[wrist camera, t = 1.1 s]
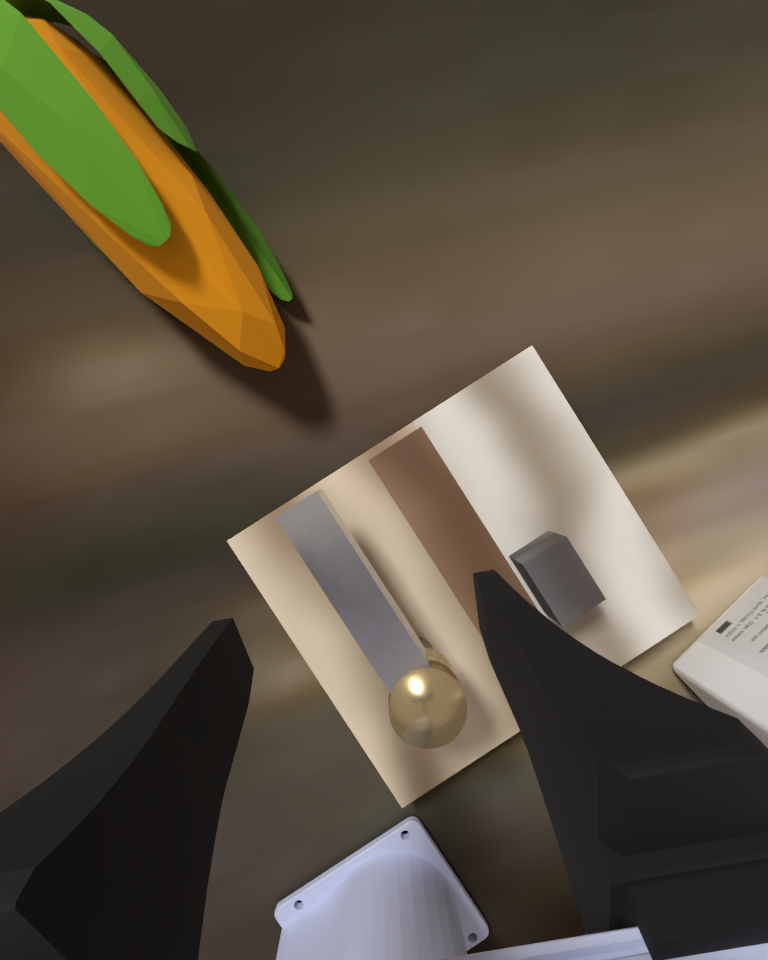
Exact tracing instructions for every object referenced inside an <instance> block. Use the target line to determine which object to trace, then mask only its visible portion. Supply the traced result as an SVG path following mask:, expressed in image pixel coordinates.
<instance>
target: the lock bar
mask: <svg viewBox="0 0 768 960" xmlns="http://www.w3.org/2000/svg"><path fill="white" fill-rule="evenodd" d="M275 518H276V519H277V521H278V522H279V524H280V525H281V527H282V528H283V530H284V532H285V533H286V535H287V536H288V538H289V539H290V541H291V542H292V544H293V545H294V547H295V548H296V550H297V551H298V553H299V555H300V556H301V558H302V559H303V561H304V562H305V564H306V565H307V567H308V568H309V570H310V571H311V573H312V574H313V576H314V578H315V579H316V581H317V582H318V584H319V585H320V587H321V588H322V590H323V591H324V593H325V594H326V596H327V598H328V599H329V601H330V602H331V604H332V605H333V607H334V608H335V610H336V611H337V613H338V614H339V616H340V617H341V619H342V621H343V622H344V624H345V625H346V627H347V628H348V630H349V631H350V633H351V634H352V636H353V637H354V639H355V641H356V642H357V644H358V645H359V647H360V648H361V650H362V651H363V653H364V654H365V656H366V657H367V659H368V660H369V662H370V664H371V665H372V667H373V668H374V670H375V671H376V673H377V674H378V676H379V677H380V679H381V680H382V682H383V683H384V685H385V687H386V688H387V690H388V703H389V716H390V721H391V724H392V727H393V729H394V731H395V732H396V734H397V735H398V736H399V737H400V738H401V739H402V740H403V741H404V742H406V743H407V744H409V745H411V746H413V747H416V748H420V749H435V748H439V747H442V746H444V745H446V744H448V743H450V742H451V741H452V740H454V739H455V738H456V737H457V736H458V734H459V733H460V732H461V730H462V728H463V726H464V724H465V721H466V717H467V702H466V698H465V696H464V693H463V691H462V688H461V686H460V683H459V681H458V679H457V676H456V674H455V671H454V669H453V667H452V665H451V663H450V662H449V660H448V659H447V658H446V657H445V656H444V655H442V654H441V653H439V652H438V651H435V650H433V649H429V648H425V647H424V646H423V644H422V643H421V641H420V639H419V638H418V636H417V635H416V633H415V632H414V630H413V629H412V627H411V626H410V624H409V622H408V621H407V619H406V618H405V616H404V615H403V613H402V612H401V610H400V609H399V607H398V605H397V604H396V602H395V601H394V599H393V598H392V596H391V595H390V593H389V592H388V590H387V588H386V587H385V585H384V584H383V582H382V581H381V579H380V578H379V576H378V574H377V573H376V571H375V570H374V568H373V567H372V565H371V564H370V562H369V561H368V559H367V557H366V556H365V554H364V553H363V551H362V550H361V548H360V547H359V545H358V544H357V542H356V540H355V539H354V537H353V536H352V534H351V533H350V531H349V530H348V528H347V527H346V525H345V523H344V522H343V520H342V519H341V517H340V516H339V514H338V513H337V511H336V510H335V508H334V506H333V505H332V503H331V502H330V500H329V499H328V497H327V496H326V494H325V493H324V491H323V489H321V490H318V491H316V492H314V493H313V494H311V495H309V496H308V497H306V498H305V499H303V500H302V501H300V502H298V503H297V504H295V505H294V506H292V507H291V508H289V509H288V510H286V511H284V512H283V513H281V514H280V515H278V516H277V517H275Z"/></svg>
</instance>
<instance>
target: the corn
mask: <svg viewBox="0 0 768 960" xmlns="http://www.w3.org/2000/svg"><path fill="white" fill-rule="evenodd" d="M49 22H58V23H61V24H65V25H69V26H73V27H74V28H75V29H76V30H77V31H78V32H79V33H81V34H82V35H83V36H84V37H85V38H86V39H87V40H88V41H89V42H90V43H91V44H92V45H93V46H94V47H95V48H96V49H97V50H98V51H99V52H100V54H101V55H102V56H103V58H104V59H105V60H106V61H105V60H103V59H101V58H100V57H98V56H96V55H94V54H93V53H92V52H90V51H89V50H88V49H87V48H86V47H84V46H83V45H82V44H81V43H79V42H78V41H77V40H76V39H74V38H73V37H71V36H70V35H68V34H67V33H65V32H63V31H62V30H60V29H59V28H57V27H56V26H54V25H53V24H51V23H49ZM0 142H1V143H2V144H3V145H4V146H5V147H6V148H7V149H8V151H9V152H10V153H11V154H12V155H13V156H14V157H15V158H16V160H17V161H18V162H19V163H20V164H21V165H22V166H23V167H24V168H25V170H26V171H27V172H28V173H29V174H30V175H31V176H32V177H33V178H34V179H35V180H36V181H37V183H38V184H39V185H40V186H41V187H42V188H43V189H44V190H45V191H46V192H47V193H48V194H49V195H50V196H51V197H52V199H53V200H54V201H55V202H56V203H57V204H58V205H59V206H60V207H61V208H62V209H63V210H64V211H65V212H66V213H67V214H68V216H69V217H70V218H71V219H72V220H73V221H74V222H75V223H76V224H77V226H78V227H79V228H80V229H81V230H82V231H83V233H84V234H85V235H86V236H87V237H88V238H89V240H90V241H91V242H92V243H93V244H94V245H95V246H96V247H97V248H98V249H99V250H100V251H101V252H102V253H103V254H104V255H105V256H106V257H107V258H108V259H109V260H110V261H111V262H112V263H113V264H114V265H115V266H116V267H117V268H118V269H119V270H120V271H121V272H122V273H123V274H124V275H125V276H126V277H127V278H128V279H129V280H130V281H131V283H132V284H133V285H134V286H135V287H136V288H137V289H138V290H139V291H140V292H141V293H142V294H144V295H145V296H147V297H148V298H149V299H151V300H152V301H154V302H155V303H156V304H158V305H159V306H161V307H162V308H163V309H165V310H166V311H168V312H169V313H171V314H172V315H173V316H175V317H176V318H178V319H179V320H180V321H182V322H183V323H185V324H186V325H187V326H189V327H190V328H192V329H193V330H195V331H196V332H197V333H199V334H200V335H202V336H203V337H204V338H206V339H207V340H209V341H210V342H211V343H213V344H214V345H216V346H217V347H219V348H220V349H221V350H223V351H224V352H226V353H227V354H228V355H230V356H231V357H233V358H234V359H235V360H237V361H238V362H240V363H241V364H243V365H244V366H248V367H252V368H256V369H261V370H265V371H269V372H270V371H273V370H276V369H279V367H280V366H281V364H282V363H283V361H284V360H285V327H284V325H283V322H282V320H281V318H280V315H279V313H278V311H277V308H276V306H275V304H274V301H273V299H272V297H271V295H270V292H269V290H270V291H271V292H273V293H274V294H275V295H276V296H277V297H278V298H280V299H281V300H284V301H290V300H291V299H292V298H293V296H292V291H291V289H290V287H289V284H288V282H287V280H286V278H285V276H284V274H283V272H282V270H281V268H280V266H279V264H278V262H277V260H276V259H275V257H274V255H273V253H272V252H271V250H270V248H269V246H268V245H267V243H266V241H265V239H264V238H263V236H262V234H261V232H260V231H259V229H258V227H257V226H256V225H255V223H254V222H253V221H252V219H251V218H250V217H249V215H248V214H247V213H246V212H245V210H244V209H243V208H242V206H241V205H240V204H239V202H238V201H237V200H236V198H235V197H234V196H233V194H232V193H231V192H230V190H229V189H228V188H227V186H226V185H225V184H224V182H223V181H222V180H221V178H220V177H219V176H218V175H217V173H216V172H215V171H214V169H213V168H212V167H211V166H210V165H209V164H208V163H207V161H206V160H205V159H204V158H203V157H202V156H201V155H200V153H199V152H198V151H197V150H196V148H195V145H194V143H193V141H192V139H191V137H190V134H189V132H188V130H187V128H186V126H185V125H184V123H183V122H182V120H181V119H180V117H179V116H178V115H177V113H176V112H175V110H174V109H173V107H172V106H171V105H170V103H169V102H168V100H167V99H166V97H165V96H164V95H163V93H162V92H161V90H160V89H159V88H158V87H157V86H156V84H155V83H154V82H153V81H152V80H151V79H150V78H149V76H148V75H147V74H146V73H145V72H144V71H143V69H142V68H141V67H140V66H139V65H138V64H137V63H136V61H135V60H134V59H133V58H132V57H131V56H130V54H129V53H128V52H127V51H126V50H125V49H124V48H123V46H122V45H121V44H120V43H119V42H118V41H117V39H116V38H115V37H114V36H113V35H112V34H111V33H110V32H108V31H107V30H106V29H105V28H103V27H102V26H101V25H100V24H98V23H97V22H96V21H95V20H93V19H92V18H91V17H90V16H88V15H87V14H85V13H83V12H81V11H79V10H76V9H74V8H72V7H70V6H68V5H66V4H64V3H62V2H60V1H57V0H0ZM268 289H269V290H268Z"/></svg>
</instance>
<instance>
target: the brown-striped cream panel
mask: <svg viewBox="0 0 768 960" xmlns="http://www.w3.org/2000/svg"><path fill="white" fill-rule="evenodd" d="M321 489H323V491H324V493H325V494H326V496H327V497H328V499H329V500H330V502H331V503H332V505H333V506H334V508H335V510H336V511H337V513H338V514H339V516H340V517H341V519H342V520H343V522H344V523H345V525H346V527H347V528H348V530H349V531H350V533H351V534H352V536H353V537H354V539H355V540H356V542H357V544H358V545H359V547H360V548H361V550H362V551H363V553H364V554H365V556H366V557H367V559H368V561H369V562H370V564H371V565H372V567H373V568H374V570H375V571H376V573H377V574H378V576H379V578H380V579H381V581H382V582H383V584H384V585H385V587H386V588H387V590H388V592H389V593H390V595H391V596H392V598H393V599H394V601H395V602H396V604H397V605H398V607H399V609H400V610H401V612H402V613H403V615H404V616H405V618H406V619H407V621H408V622H409V624H410V626H411V627H412V629H413V630H414V632H415V633H416V635H417V636H418V638H419V639H420V641H421V643H422V644H423V646H424V647H425V648H429V649H433V650H435V651H438V652H439V653H441V654H442V655H444V656H445V657H446V658H447V659H448V660H449V662H450V663H451V665H452V667H453V669H454V671H455V674H456V676H457V679H458V681H459V683H460V686H461V688H462V691H463V693H464V696H465V698H466V702H467V717H466V721H465V724H464V726H463V728H462V730H461V732H460V733H459V734H458V736H457V737H456V738H455V739H454V740H452V741H451V742H450V743H448V744H446V745H444V746H442V747H439V748H435V749H420V748H416V747H413V746H411V745H409V744H407V743H406V742H404V741H403V740H402V739H401V738H400V737H399V736H398V735H397V734H396V732H395V731H394V729H393V727H392V724H391V721H390V716H389V703H388V690H387V688H386V687H385V685H384V683H383V682H382V680H381V679H380V677H379V676H378V674H377V673H376V671H375V670H374V668H373V667H372V665H371V664H370V662H369V660H368V659H367V657H366V656H365V654H364V653H363V651H362V650H361V648H360V647H359V645H358V644H357V642H356V641H355V639H354V637H353V636H352V634H351V633H350V631H349V630H348V628H347V627H346V625H345V624H344V622H343V621H342V619H341V617H340V616H339V614H338V613H337V611H336V610H335V608H334V607H333V605H332V604H331V602H330V601H329V599H328V598H327V596H326V594H325V593H324V591H323V590H322V588H321V587H320V585H319V584H318V582H317V581H316V579H315V578H314V576H313V574H312V573H311V571H310V570H309V568H308V567H307V565H306V564H305V562H304V561H303V559H302V558H301V556H300V555H299V553H298V551H297V550H296V548H295V547H294V545H293V544H292V542H291V541H290V539H289V538H288V536H287V535H286V533H285V532H284V530H283V528H282V527H281V525H280V524H279V522H278V521H277V519H276V518H275V517H277V516H278V515H280V514H281V513H283V512H284V511H286V510H288V509H289V508H291V507H292V506H294V505H295V504H297V503H298V502H300V501H302V500H303V499H305V498H306V497H308V496H309V495H311V494H313V493H314V492H316V491H318V490H321ZM227 542H228V544H229V545H230V547H231V548H232V550H233V551H234V553H235V554H236V556H237V557H238V559H239V560H240V562H241V563H242V565H243V566H244V568H245V569H246V571H247V573H248V574H249V576H250V577H251V579H252V580H253V582H254V583H255V585H256V586H257V588H258V589H259V591H260V592H261V594H262V595H263V597H264V598H265V600H266V601H267V603H268V605H269V606H270V608H271V609H272V611H273V612H274V614H275V615H276V617H277V618H278V620H279V621H280V623H281V624H282V626H283V627H284V629H285V630H286V632H287V633H288V635H289V637H290V638H291V640H292V641H293V643H294V644H295V646H296V647H297V649H298V650H299V652H300V653H301V655H302V656H303V658H304V659H305V661H306V662H307V664H308V665H309V667H310V669H311V670H312V672H313V673H314V675H315V676H316V678H317V679H318V681H319V682H320V684H321V685H322V687H323V688H324V690H325V691H326V693H327V694H328V696H329V697H330V699H331V701H332V702H333V704H334V705H335V707H336V708H337V710H338V711H339V713H340V714H341V716H342V717H343V719H344V720H345V722H346V723H347V725H348V726H349V728H350V729H351V731H352V733H353V734H354V736H355V737H356V739H357V740H358V742H359V743H360V745H361V746H362V748H363V749H364V751H365V752H366V754H367V755H368V757H369V758H370V760H371V761H372V763H373V765H374V766H375V768H376V769H377V771H378V772H379V774H380V775H381V777H382V778H383V780H384V781H385V783H386V784H387V786H388V787H389V789H390V790H391V792H392V793H393V795H394V797H395V798H396V800H397V801H398V803H399V804H400V806H401V807H402V808H403V807H405V806H406V805H408V804H409V803H411V802H413V801H414V800H416V799H417V798H419V797H420V796H422V795H423V794H425V793H426V792H428V791H429V790H431V789H432V788H434V787H435V786H437V785H438V784H440V783H442V782H443V781H445V780H446V779H448V778H449V777H451V776H452V775H454V774H455V773H457V772H458V771H460V770H461V769H463V768H464V767H466V766H468V765H469V764H471V763H472V762H474V761H475V760H477V759H478V758H480V757H481V756H483V755H484V754H486V753H487V752H489V751H490V750H492V749H493V748H495V747H497V746H498V745H500V744H501V743H503V742H504V741H506V740H507V739H509V738H510V737H512V736H513V735H515V734H516V733H518V732H519V731H520V729H519V727H518V725H517V722H516V720H515V718H514V715H513V713H512V711H511V709H510V706H509V704H508V702H507V699H506V697H505V695H504V693H503V690H502V688H501V686H500V683H499V681H498V679H497V676H496V674H495V672H494V669H493V667H492V665H491V662H490V660H489V657H488V654H487V651H486V648H485V644H484V641H483V638H482V634H481V631H480V628H479V621H478V613H477V605H476V596H475V588H474V580H473V573H477V572H483V571H488V570H495V571H496V572H498V574H499V575H500V576H501V577H502V578H503V579H504V580H505V581H506V582H507V583H508V584H509V585H510V586H511V587H513V588H514V589H515V590H516V591H517V592H518V593H519V594H520V595H521V596H522V597H523V598H524V599H526V600H527V601H528V602H529V603H530V604H531V605H532V606H534V607H535V608H536V609H537V610H538V611H540V612H541V613H542V614H543V615H544V616H546V617H547V618H548V619H549V620H551V621H552V622H553V623H554V624H556V625H557V626H558V627H560V628H561V629H562V630H564V631H565V632H566V633H568V634H569V635H571V636H572V637H573V638H575V639H576V640H578V641H579V642H581V643H582V644H584V645H585V646H587V647H588V648H590V649H592V650H593V651H595V652H596V653H598V654H599V655H601V656H603V657H604V658H606V659H608V660H610V661H611V662H613V663H615V664H617V665H619V666H623V665H624V664H626V663H627V662H629V661H630V660H632V659H633V658H635V657H636V656H638V655H639V654H641V653H643V652H644V651H646V650H647V649H649V648H650V647H652V646H653V645H655V644H656V643H658V642H659V641H661V640H662V639H664V638H665V637H667V636H668V635H670V634H672V633H673V632H675V631H676V630H678V629H679V628H681V627H682V626H684V625H685V624H687V623H688V622H690V621H691V620H693V619H694V618H696V617H698V616H699V615H700V614H699V612H698V610H697V609H696V607H695V606H694V604H693V602H692V601H691V599H690V598H689V596H688V594H687V593H686V591H685V590H684V588H683V586H682V585H681V583H680V582H679V580H678V578H677V577H676V575H675V574H674V572H673V570H672V569H671V567H670V566H669V564H668V562H667V561H666V559H665V558H664V556H663V554H662V553H661V551H660V550H659V548H658V546H657V545H656V543H655V542H654V540H653V538H652V537H651V535H650V534H649V532H648V530H647V529H646V527H645V526H644V524H643V522H642V521H641V519H640V518H639V516H638V514H637V513H636V511H635V510H634V508H633V506H632V505H631V503H630V502H629V500H628V498H627V497H626V495H625V493H624V492H623V490H622V489H621V487H620V485H619V484H618V482H617V481H616V479H615V477H614V476H613V474H612V473H611V471H610V469H609V468H608V466H607V465H606V463H605V461H604V460H603V458H602V457H601V455H600V453H599V452H598V450H597V449H596V447H595V445H594V444H593V442H592V441H591V439H590V437H589V436H588V434H587V433H586V431H585V429H584V428H583V426H582V425H581V423H580V421H579V420H578V418H577V417H576V415H575V413H574V412H573V410H572V409H571V407H570V405H569V404H568V402H567V401H566V399H565V397H564V396H563V394H562V393H561V391H560V389H559V388H558V386H557V385H556V383H555V381H554V380H553V378H552V376H551V375H550V373H549V372H548V370H547V368H546V367H545V365H544V364H543V362H542V360H541V359H540V357H539V356H538V354H537V352H536V351H535V349H534V348H533V346H530V347H529V348H527V349H526V350H524V351H523V352H521V353H519V354H518V355H516V356H515V357H513V358H512V359H510V360H509V361H507V362H505V363H504V364H502V365H501V366H499V367H498V368H496V369H494V370H493V371H491V372H490V373H488V374H487V375H485V376H484V377H482V378H480V379H479V380H477V381H476V382H474V383H473V384H471V385H469V386H468V387H466V388H465V389H463V390H462V391H460V392H459V393H457V394H455V395H454V396H452V397H451V398H449V399H448V400H446V401H445V402H443V403H441V404H440V405H438V406H437V407H435V408H434V409H432V410H430V411H429V412H427V413H426V414H424V415H423V416H421V417H420V418H418V419H416V420H415V421H413V422H412V423H410V424H409V425H407V426H406V427H404V428H403V429H401V430H399V431H398V432H396V433H395V434H393V435H392V436H390V437H388V438H387V439H385V440H384V441H382V442H381V443H379V444H378V445H376V446H374V447H373V448H371V449H370V450H368V451H367V452H365V453H363V454H362V455H360V456H359V457H357V458H356V459H354V460H353V461H351V462H349V463H348V464H346V465H345V466H343V467H342V468H340V469H339V470H337V471H335V472H334V473H332V474H331V475H329V476H328V477H326V478H324V479H323V480H321V481H320V482H318V483H317V484H315V485H314V486H312V487H310V488H309V489H307V490H306V491H304V492H303V493H301V494H299V495H298V496H296V497H295V498H293V499H292V500H290V501H289V502H287V503H285V504H284V505H282V506H281V507H279V508H278V509H276V510H274V511H273V512H271V513H270V514H268V515H267V516H265V517H264V518H262V519H260V520H259V521H257V522H256V523H254V524H253V525H251V526H250V527H248V528H246V529H245V530H243V531H242V532H240V533H239V534H237V535H235V536H234V537H232V538H231V539H229V540H228V541H227Z"/></svg>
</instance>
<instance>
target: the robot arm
mask: <svg viewBox="0 0 768 960" xmlns="http://www.w3.org/2000/svg"><path fill="white" fill-rule="evenodd" d="M473 580H474V588H475V596H476V605H477V613H478V621H479V628H480V631H481V634H482V638H483V641H484V644H485V648H486V651H487V654H488V657H489V660H490V662H491V665H492V667H493V669H494V672H495V674H496V676H497V679H498V681H499V683H500V686H501V688H502V690H503V693H504V695H505V697H506V699H507V702H508V704H509V706H510V709H511V711H512V713H513V715H514V718H515V720H516V722H517V725H518V727H519V729H520V732H521V734H522V737H523V739H524V742H525V744H526V747H527V749H528V752H529V755H530V758H531V761H532V764H533V767H534V770H535V773H536V776H537V779H538V782H539V785H540V788H541V791H542V794H543V798H544V801H545V804H546V807H547V810H548V813H549V816H550V819H551V822H552V825H553V828H554V832H555V835H556V838H557V841H558V844H559V847H560V851H561V854H562V857H563V860H564V863H565V867H566V870H567V873H568V876H569V879H570V882H571V886H572V889H573V892H574V896H575V899H576V902H577V906H578V909H579V912H580V915H581V919H582V922H583V925H584V929H585V932H586V935H582V936H576V937H570V938H564V939H558V940H552V941H546V942H540V943H534V944H528V945H522V946H516V947H510V948H504V949H497V950H491V951H485V952H479V953H473V954H467V951H468V950H469V949H471V948H472V947H474V946H475V945H477V944H478V943H480V942H481V941H483V940H484V939H485V938H486V937H487V936H488V934H489V929H488V925H487V922H486V920H485V919H484V917H483V916H482V914H481V913H480V911H479V910H478V908H477V907H476V905H475V904H474V902H473V901H472V899H471V898H470V896H469V895H468V893H467V891H466V890H465V888H464V887H463V885H462V884H461V882H460V881H459V879H458V878H457V876H456V875H455V873H454V872H453V870H452V869H451V867H450V866H449V864H448V862H447V861H446V859H445V858H444V856H443V855H442V853H441V852H440V850H439V849H438V847H437V846H436V844H435V843H434V841H433V840H432V838H431V837H430V835H429V833H428V832H427V830H426V829H425V827H424V826H423V824H422V823H421V821H420V820H419V819H418V818H417V817H408V818H407V819H405V820H404V821H402V822H400V823H399V824H397V825H396V826H394V827H393V828H391V829H390V830H388V831H387V832H385V833H384V834H382V835H381V836H379V837H378V838H376V839H375V840H373V841H371V842H370V843H368V844H367V845H365V846H364V847H362V848H361V849H359V850H358V851H356V852H355V853H353V854H352V855H350V856H349V857H347V858H345V859H344V860H342V861H341V862H339V863H338V864H336V865H335V866H333V867H332V868H330V869H329V870H327V871H326V872H324V873H323V874H321V875H320V876H318V877H316V878H315V879H313V880H312V881H310V882H309V883H307V884H306V885H304V886H303V887H301V888H300V889H298V890H297V891H295V892H294V893H292V894H291V895H289V896H287V897H286V898H284V899H283V900H281V901H280V902H279V903H278V904H277V906H276V909H275V918H276V920H277V921H278V923H279V924H280V926H281V927H282V932H281V937H280V942H279V947H278V952H277V957H276V960H768V748H767V747H766V746H765V745H764V744H763V743H762V742H761V741H760V740H759V739H758V737H756V736H755V735H754V734H753V733H752V732H751V731H750V730H749V729H748V728H747V727H746V726H745V725H744V724H743V723H742V722H741V721H740V720H739V719H738V718H736V717H733V716H731V715H728V714H726V713H723V712H720V711H718V710H715V709H713V708H710V707H707V706H705V705H702V704H700V703H697V702H695V701H692V700H689V699H687V698H685V697H682V696H680V695H678V694H676V693H673V692H671V691H669V690H667V689H664V688H662V687H660V686H658V685H656V684H654V683H651V682H649V681H647V680H645V679H643V678H641V677H639V676H637V675H636V674H634V673H632V672H630V671H628V670H626V669H624V668H622V667H621V666H619V665H617V664H615V663H613V662H611V661H610V660H608V659H606V658H604V657H603V656H601V655H599V654H598V653H596V652H595V651H593V650H592V649H590V648H588V647H587V646H585V645H584V644H582V643H581V642H579V641H578V640H576V639H575V638H573V637H572V636H571V635H569V634H568V633H566V632H565V631H564V630H562V629H561V628H560V627H558V626H557V625H556V624H554V623H553V622H552V621H551V620H549V619H548V618H547V617H546V616H544V615H543V614H542V613H541V612H540V611H538V610H537V609H536V608H535V607H534V606H532V605H531V604H530V603H529V602H528V601H527V600H526V599H524V598H523V597H522V596H521V595H520V594H519V593H518V592H517V591H516V590H515V589H514V588H513V587H511V586H510V585H509V584H508V583H507V582H506V581H505V580H504V579H503V578H502V577H501V576H500V575H499V574H498V572H496V571H495V570H488V571H483V572H477V573H473ZM253 669H254V668H253V666H252V663H251V661H250V658H249V656H248V654H247V651H246V649H245V646H244V644H243V641H242V639H241V637H240V634H239V632H238V629H237V627H236V625H235V622H234V620H233V618H229V619H224V620H218V621H213V622H212V623H211V624H210V625H209V626H208V627H207V628H206V629H205V630H204V631H203V632H202V633H201V634H200V635H199V636H198V638H197V639H196V640H195V641H194V642H193V643H192V644H191V645H190V646H189V647H188V649H187V650H186V651H185V652H184V653H183V654H182V655H181V656H180V657H179V658H178V660H177V661H176V662H175V663H174V664H173V665H172V666H171V667H170V668H169V669H168V670H167V672H166V673H165V674H164V675H163V676H162V677H161V678H160V679H159V680H158V681H157V682H156V683H155V684H154V685H153V686H152V687H151V688H150V689H149V690H148V691H147V692H146V693H145V694H144V695H143V696H142V697H141V698H140V699H139V700H138V701H137V702H136V703H135V704H134V705H133V706H132V707H131V708H130V709H129V710H128V711H127V712H126V713H125V714H124V715H123V716H122V717H121V718H120V719H119V720H118V721H117V722H115V723H114V724H113V725H112V726H111V727H110V728H109V729H108V730H106V731H105V732H104V733H103V734H102V735H101V736H100V737H99V738H97V739H96V740H95V741H94V742H93V743H92V744H90V745H89V746H88V747H87V748H86V749H84V750H83V751H82V752H81V753H79V754H78V755H77V756H76V757H74V758H73V759H72V760H71V761H69V762H68V763H67V764H66V765H64V766H63V767H62V768H60V769H59V770H58V771H57V772H55V773H54V774H53V775H52V776H50V777H49V778H48V779H46V780H45V781H44V782H42V783H41V784H40V785H38V786H37V787H36V788H34V789H33V790H32V791H30V792H29V793H27V794H26V795H25V796H23V797H22V798H20V799H19V800H18V801H16V802H15V803H13V804H12V805H10V806H9V807H8V808H6V809H5V810H3V811H2V812H0V960H198V955H199V946H200V938H201V930H202V923H203V916H204V908H205V901H206V893H207V886H208V880H209V874H210V867H211V861H212V855H213V849H214V843H215V837H216V832H217V826H218V821H219V815H220V810H221V804H222V800H223V796H224V792H225V787H226V783H227V780H228V776H229V773H230V769H231V765H232V762H233V758H234V755H235V751H236V748H237V744H238V741H239V737H240V733H241V730H242V726H243V723H244V719H245V715H246V711H247V708H248V704H249V698H250V692H251V685H252V677H253ZM402 831H408V833H407V834H403V833H402ZM298 900H300V901H302V902H301V903H299V902H297V901H298ZM471 933H474V934H472V935H470V934H471Z"/></svg>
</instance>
